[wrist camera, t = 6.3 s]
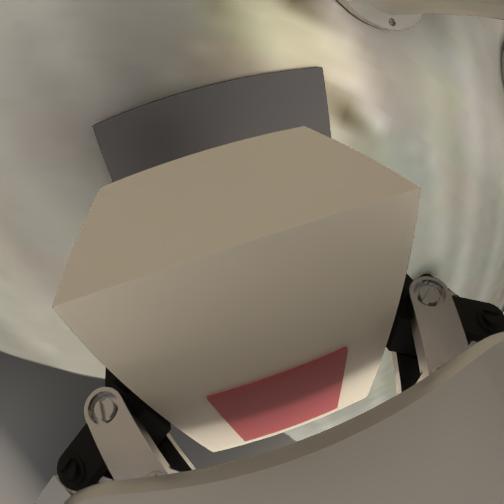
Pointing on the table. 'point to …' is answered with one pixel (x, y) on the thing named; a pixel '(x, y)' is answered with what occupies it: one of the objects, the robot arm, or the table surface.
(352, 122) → the table surface
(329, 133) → the mat
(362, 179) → the card box
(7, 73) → the table surface
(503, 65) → the flag stand
